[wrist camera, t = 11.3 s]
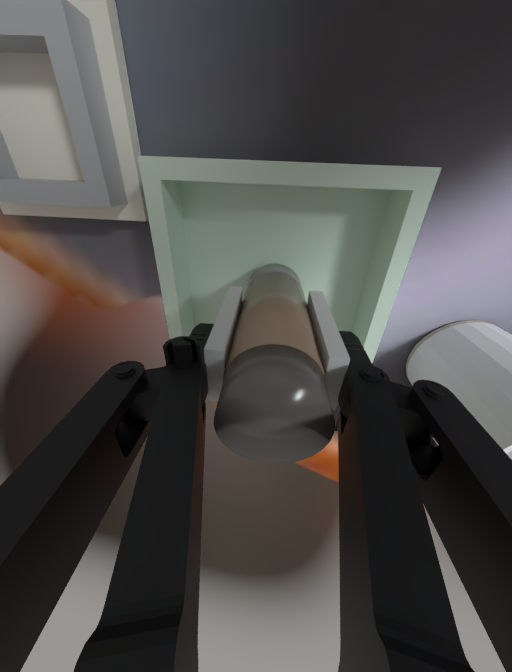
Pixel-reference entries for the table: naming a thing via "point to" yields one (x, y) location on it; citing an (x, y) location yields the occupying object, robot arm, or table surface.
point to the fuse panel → (67, 113)
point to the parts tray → (284, 233)
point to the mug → (471, 372)
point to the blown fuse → (274, 375)
